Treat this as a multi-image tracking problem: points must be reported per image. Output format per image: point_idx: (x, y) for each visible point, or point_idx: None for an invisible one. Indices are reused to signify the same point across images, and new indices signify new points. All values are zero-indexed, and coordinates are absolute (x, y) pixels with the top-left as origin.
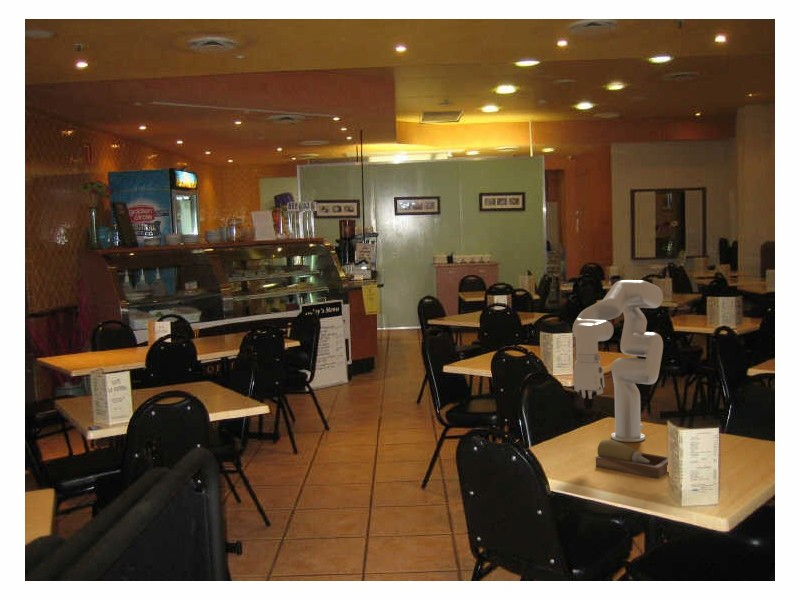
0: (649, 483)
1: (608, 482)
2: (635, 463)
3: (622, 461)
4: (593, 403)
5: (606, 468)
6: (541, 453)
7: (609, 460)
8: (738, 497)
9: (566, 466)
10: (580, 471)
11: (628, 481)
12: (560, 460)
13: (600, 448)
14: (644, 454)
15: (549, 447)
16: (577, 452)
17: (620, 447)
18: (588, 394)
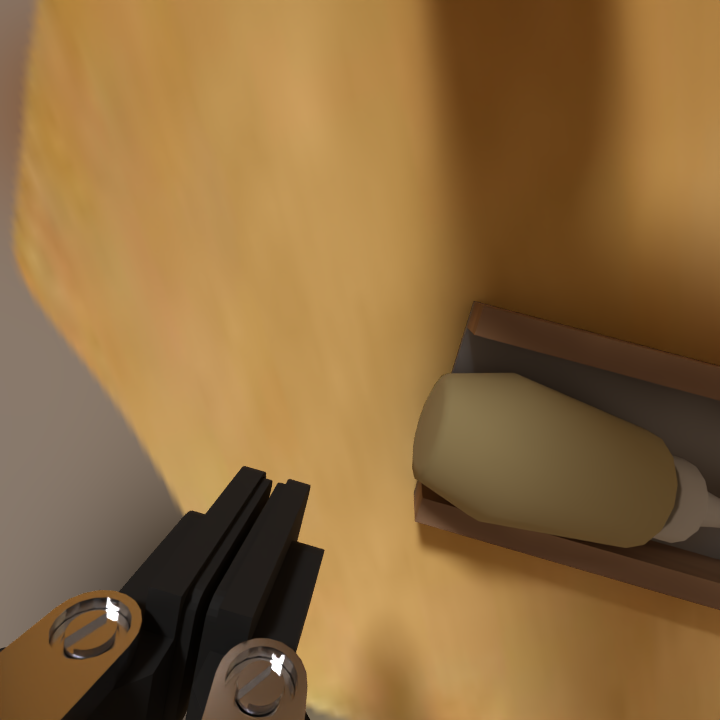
0: (700, 656)
1: (512, 682)
2: (655, 580)
3: (577, 563)
4: (311, 591)
5: None
6: (89, 349)
7: (497, 541)
8: None
9: None
10: (359, 574)
11: (600, 652)
12: (220, 438)
13: (435, 492)
14: (704, 391)
15: (80, 218)
16: (255, 265)
17: (582, 532)
18: (111, 679)
